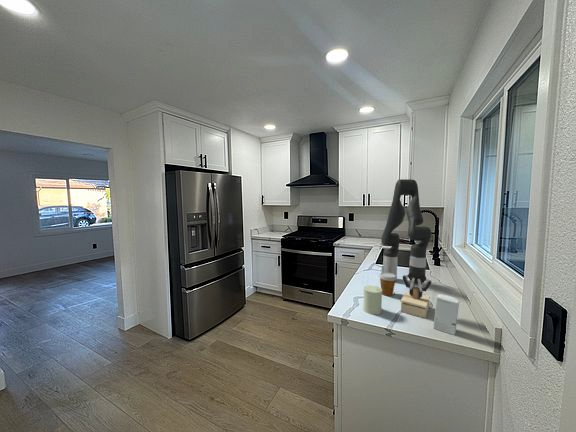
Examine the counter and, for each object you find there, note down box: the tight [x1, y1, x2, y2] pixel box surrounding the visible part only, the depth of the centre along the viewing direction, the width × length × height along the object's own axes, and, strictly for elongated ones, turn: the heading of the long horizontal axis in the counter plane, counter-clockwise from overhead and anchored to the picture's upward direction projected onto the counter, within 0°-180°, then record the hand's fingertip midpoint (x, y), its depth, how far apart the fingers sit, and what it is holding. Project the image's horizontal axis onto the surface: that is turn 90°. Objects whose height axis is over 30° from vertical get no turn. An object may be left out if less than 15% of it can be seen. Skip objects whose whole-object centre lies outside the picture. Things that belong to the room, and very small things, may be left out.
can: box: [362, 285, 383, 315], centre depth 124 cm, size 9×9×12 cm
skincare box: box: [433, 293, 460, 336], centre depth 106 cm, size 8×6×15 cm
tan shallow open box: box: [400, 301, 430, 319], centre depth 125 cm, size 11×14×4 cm
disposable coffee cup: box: [379, 272, 396, 297], centre depth 143 cm, size 10×10×12 cm
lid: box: [400, 286, 431, 308], centre depth 124 cm, size 11×14×7 cm
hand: (415, 296), depth 124 cm, fingers closed on lid, 3 cm apart
